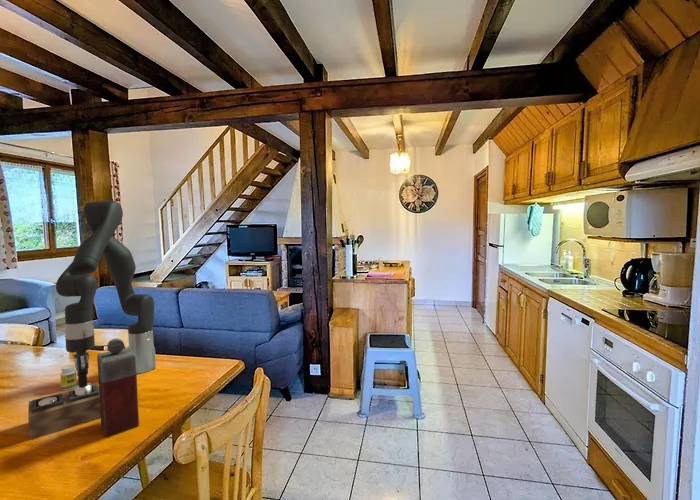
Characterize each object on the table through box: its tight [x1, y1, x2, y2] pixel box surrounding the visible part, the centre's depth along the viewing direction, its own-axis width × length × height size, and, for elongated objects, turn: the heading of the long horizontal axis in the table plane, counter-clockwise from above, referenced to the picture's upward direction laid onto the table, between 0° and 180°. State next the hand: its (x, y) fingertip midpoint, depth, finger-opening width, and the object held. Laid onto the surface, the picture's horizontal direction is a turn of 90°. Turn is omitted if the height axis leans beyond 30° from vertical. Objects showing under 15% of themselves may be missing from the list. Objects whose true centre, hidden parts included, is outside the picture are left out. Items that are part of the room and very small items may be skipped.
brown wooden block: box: [27, 383, 101, 440], centre depth 113 cm, size 18×12×8 cm, turn 132°
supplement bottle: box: [60, 364, 78, 391], centre depth 135 cm, size 5×5×8 cm
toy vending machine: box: [96, 337, 140, 438], centre depth 110 cm, size 9×11×28 cm
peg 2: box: [74, 382, 92, 397], centre depth 116 cm, size 4×4×7 cm
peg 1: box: [38, 397, 57, 406], centre depth 110 cm, size 4×4×7 cm
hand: (82, 385), depth 115 cm, fingers closed
